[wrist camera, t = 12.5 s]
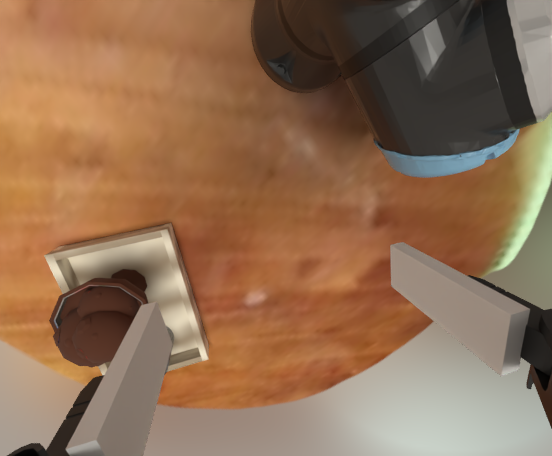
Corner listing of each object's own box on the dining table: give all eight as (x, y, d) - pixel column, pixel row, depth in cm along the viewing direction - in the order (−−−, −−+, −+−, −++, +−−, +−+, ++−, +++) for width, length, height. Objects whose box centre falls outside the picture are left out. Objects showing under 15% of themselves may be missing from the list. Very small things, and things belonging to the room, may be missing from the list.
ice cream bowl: (120, 238, 38) (64, 287, 24) (180, 282, 42) (161, 346, 28) (71, 287, 39) (-12, 364, 24) (135, 326, 42) (94, 412, 28)
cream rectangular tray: (59, 246, 38) (44, 255, 34) (171, 222, 40) (167, 229, 37) (117, 371, 45) (109, 389, 42) (208, 345, 48) (208, 359, 44)
